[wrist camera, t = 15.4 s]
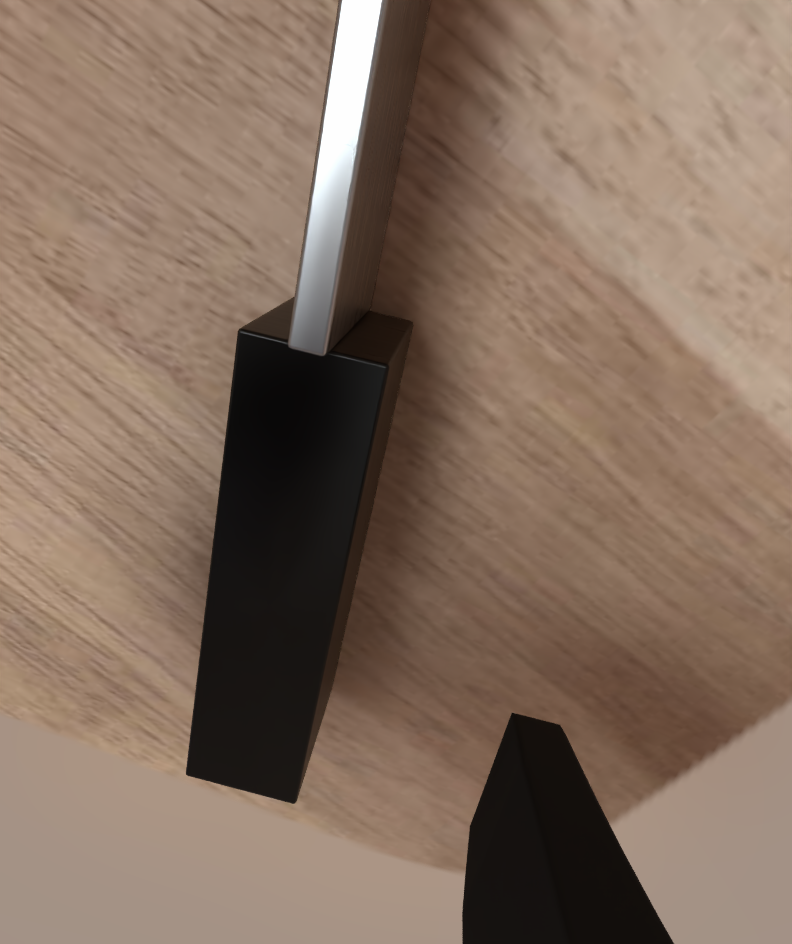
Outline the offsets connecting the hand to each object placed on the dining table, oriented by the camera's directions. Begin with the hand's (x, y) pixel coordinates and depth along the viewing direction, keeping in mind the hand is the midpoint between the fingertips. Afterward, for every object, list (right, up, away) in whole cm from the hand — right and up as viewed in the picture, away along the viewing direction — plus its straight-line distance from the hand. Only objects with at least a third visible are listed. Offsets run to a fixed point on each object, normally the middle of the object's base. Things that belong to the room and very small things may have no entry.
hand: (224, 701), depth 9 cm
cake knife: (+2, +7, +2) cm, 8 cm away
